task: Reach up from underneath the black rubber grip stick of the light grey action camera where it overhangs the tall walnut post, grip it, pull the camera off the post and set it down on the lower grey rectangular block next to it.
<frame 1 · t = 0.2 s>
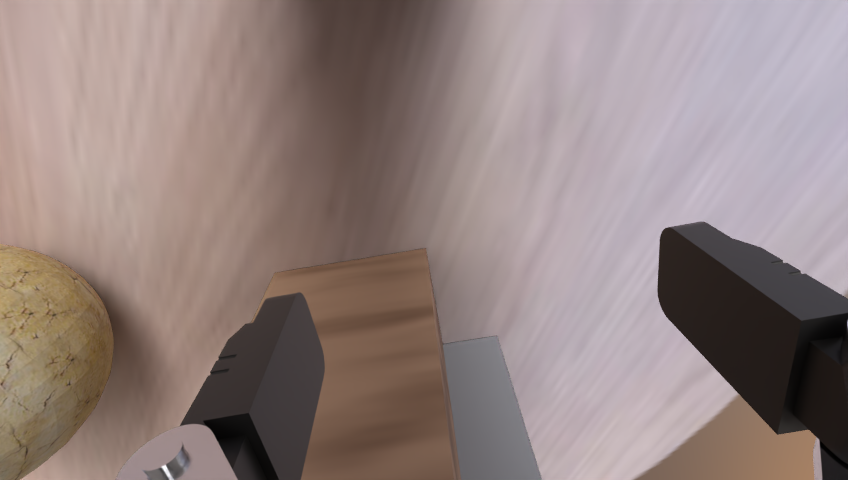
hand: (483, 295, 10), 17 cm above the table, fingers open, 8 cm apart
walnut post: (363, 310, 31), on the table
grey rectangular block: (436, 386, 35), on the table
fossilized egg: (54, 292, 30), on the table
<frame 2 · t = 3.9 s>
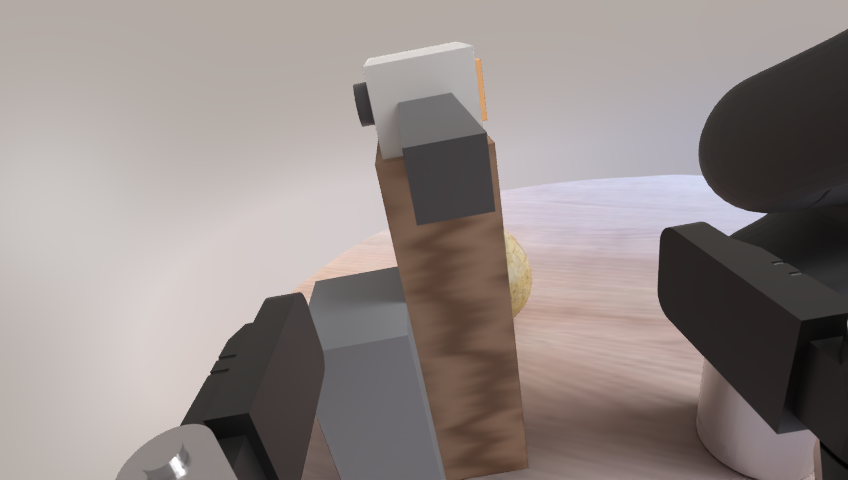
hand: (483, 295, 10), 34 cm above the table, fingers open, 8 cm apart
walnut post: (478, 432, 48), on the table
action camera: (429, 137, 34), point 32 cm above the table, touching walnut post
grey rectangular block: (405, 479, 45), on the table
fossilized egg: (490, 319, 66), on the table
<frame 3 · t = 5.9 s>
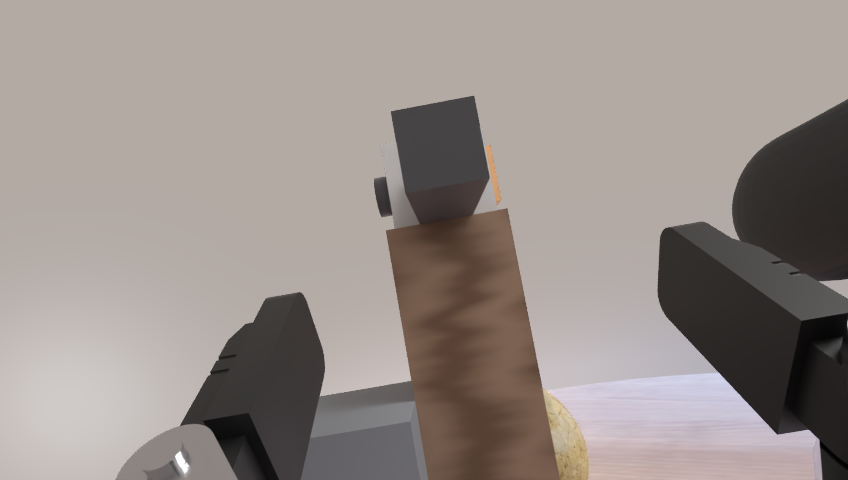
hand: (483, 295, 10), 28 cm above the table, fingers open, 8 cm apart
action camera: (446, 227, 34), point 32 cm above the table, touching walnut post
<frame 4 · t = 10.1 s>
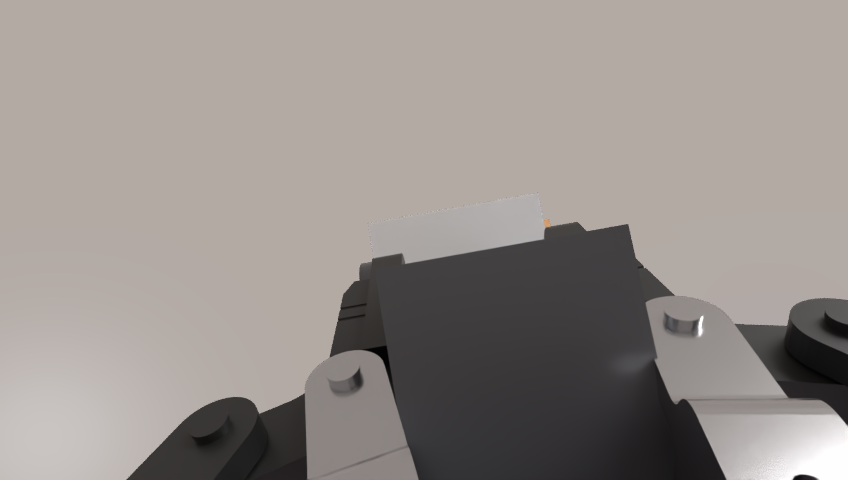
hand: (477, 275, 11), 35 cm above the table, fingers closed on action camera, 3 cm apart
action camera: (473, 342, 22), point 32 cm above the table, touching gripper, walnut post
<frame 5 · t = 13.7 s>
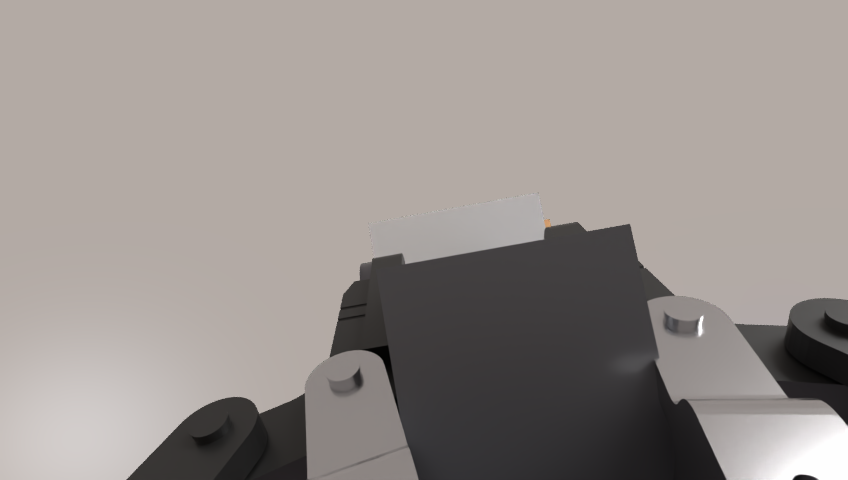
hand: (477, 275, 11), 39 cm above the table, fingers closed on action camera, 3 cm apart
action camera: (473, 342, 22), point 36 cm above the table, touching gripper
when the fingers open (25 cm above the table, at t = 17.5 s): action camera drops 1 cm, resting on grey rectangular block.
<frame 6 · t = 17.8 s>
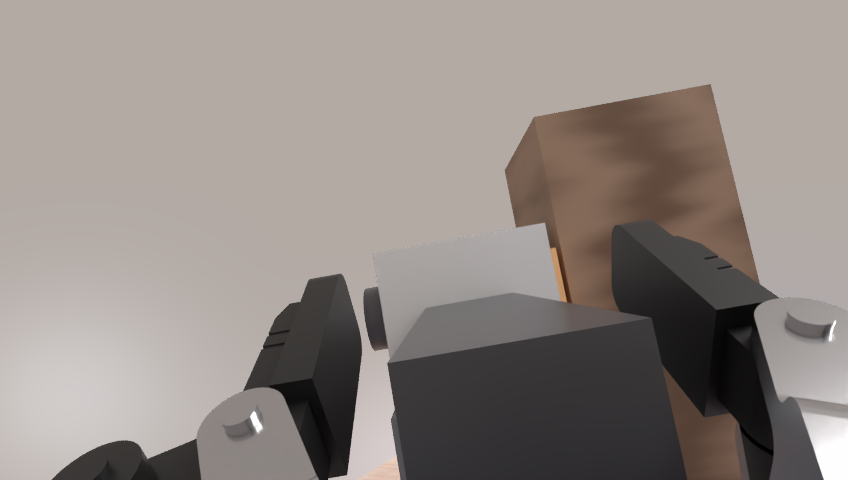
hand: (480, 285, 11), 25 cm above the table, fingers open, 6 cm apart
action camera: (478, 369, 22), point 21 cm above the table, touching grey rectangular block
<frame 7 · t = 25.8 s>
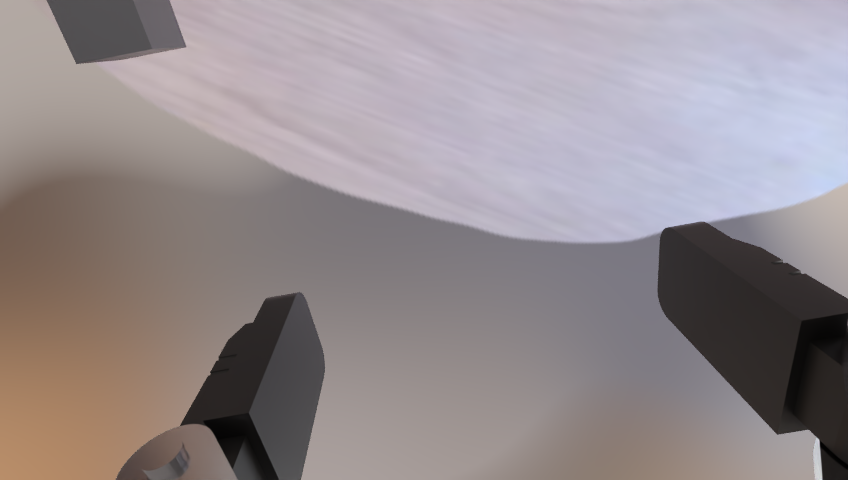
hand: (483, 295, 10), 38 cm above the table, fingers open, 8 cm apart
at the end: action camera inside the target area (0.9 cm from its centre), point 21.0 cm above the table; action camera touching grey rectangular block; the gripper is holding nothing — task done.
